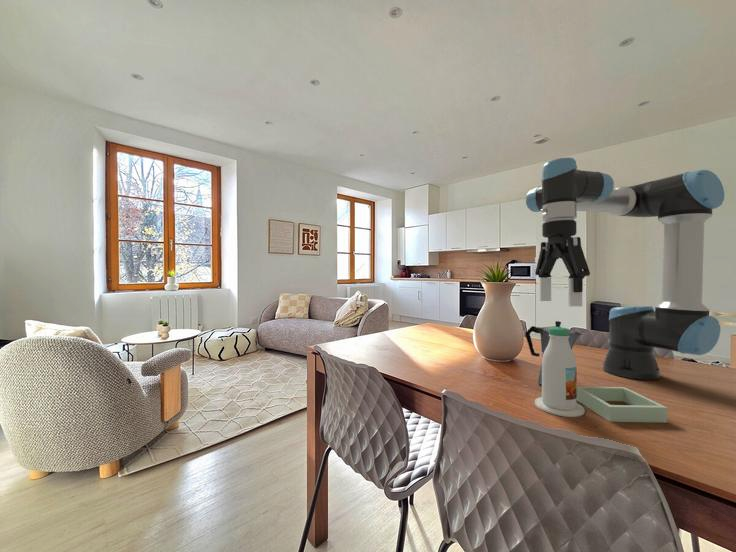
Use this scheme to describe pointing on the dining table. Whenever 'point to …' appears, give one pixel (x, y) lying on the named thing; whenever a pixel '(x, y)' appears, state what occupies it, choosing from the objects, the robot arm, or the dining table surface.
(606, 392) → the green square tray
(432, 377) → the dining table surface
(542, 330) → the moka pot
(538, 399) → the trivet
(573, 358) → the milk bottle
